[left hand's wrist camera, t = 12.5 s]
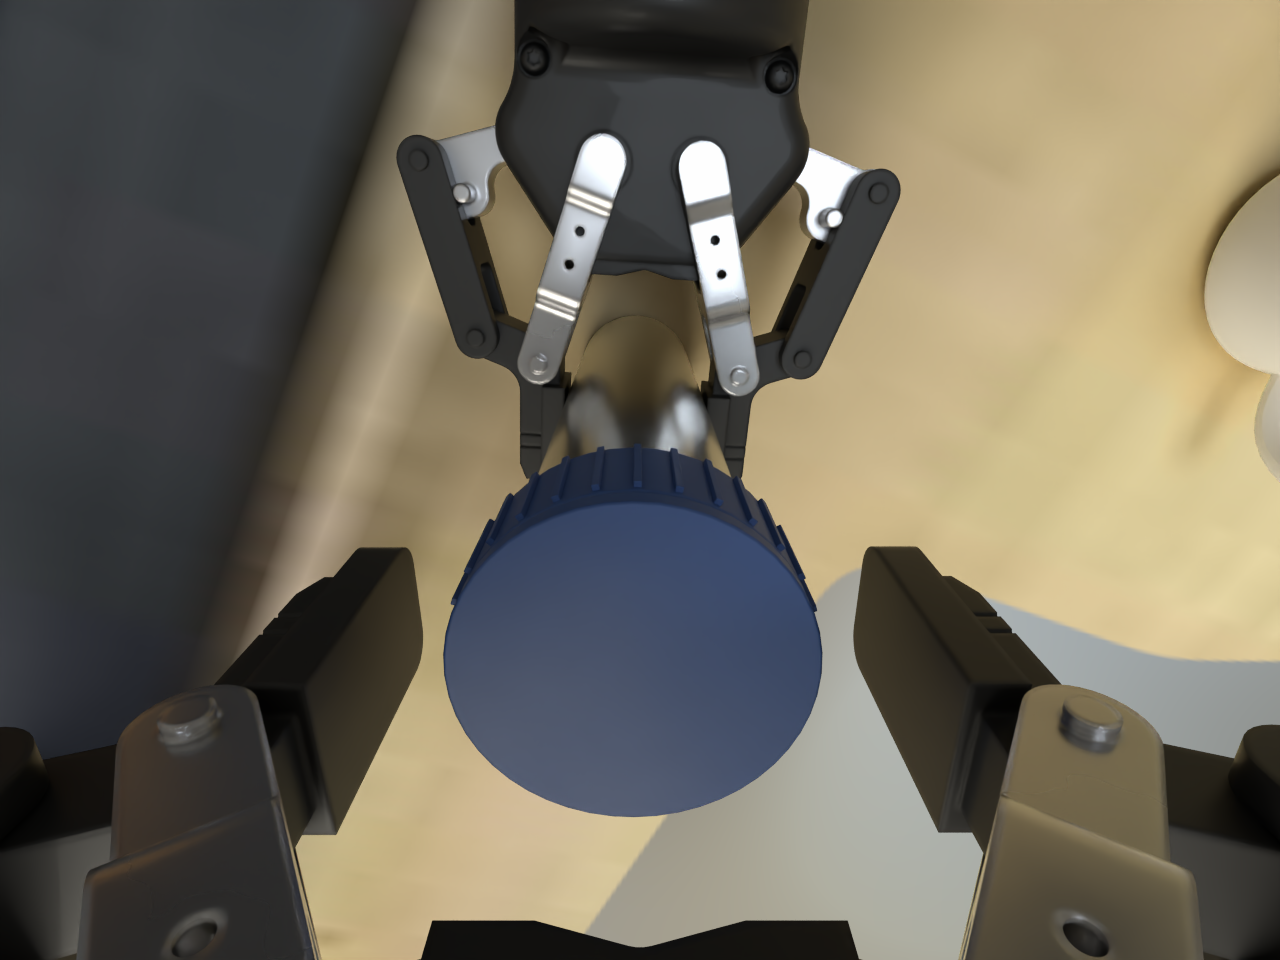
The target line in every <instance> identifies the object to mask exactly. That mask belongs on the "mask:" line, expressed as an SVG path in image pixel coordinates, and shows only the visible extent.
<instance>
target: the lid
mask: <svg viewBox="0 0 1280 960" xmlns="http://www.w3.org/2000/svg"><path fill="white" fill-rule="evenodd" d="M464 572H465V573H464V575H463V577H462V579H461V581H460V583H459V585H458V587H457V589H456V591H455V594H454V596H453V598H452V601H451V605H455V606H454V608H453V610H452V612H451V616H450V619H449V623H448V627H447V630H446V635H445V644H444V653H443V658H444V676H445V681H446V685H447V690H448V695H449V698H450V701H451V704H452V706H453V709H454V712H455V714H456V717H457V718H458V720H459V722H460V724H461V726H462V728H463V729H464V731H465V733H466V735H467V736H468V737H469V739H470V740H471V741H472V743H473V744H474V745H475V747H476V748H477V749H478V751H479V752H480V753H481V754H482V755H483V756H484V757H485V758H486V759H487V760H488V761H489V762H490V763H491V764H492V765H493V766H494V767H495V768H496V769H498V770H499V771H500V772H501V773H503V774H504V775H505V776H506V777H508V778H509V779H510V780H512V781H513V782H515V783H517V784H518V785H520V786H521V787H523V788H524V789H526V790H528V791H530V792H532V793H534V794H536V795H538V796H540V797H542V798H544V799H546V800H549V801H551V802H554V803H557V804H560V805H562V806H565V807H568V808H572V809H576V810H580V811H584V812H588V813H594V814H601V815H608V816H622V817H644V816H658V815H665V814H671V813H678V812H682V811H685V810H690V809H693V808H697V807H701V806H703V805H706V804H709V803H711V802H714V801H717V800H719V799H722V798H724V797H726V796H728V795H730V794H732V793H734V792H736V791H738V790H740V789H741V788H743V787H744V786H746V785H747V784H749V783H751V782H752V781H754V780H755V779H757V778H758V777H759V776H761V775H762V774H763V773H764V772H765V771H767V770H768V769H769V768H770V767H772V766H773V765H774V764H775V763H776V762H777V761H778V760H779V759H780V758H781V757H782V756H783V754H784V753H785V752H786V751H787V750H788V749H789V748H790V746H791V745H792V744H793V742H794V741H795V740H796V738H797V737H798V735H799V734H800V733H801V731H802V729H803V727H804V725H805V723H806V721H807V720H808V718H809V716H810V714H811V711H812V708H813V705H814V703H815V700H816V697H817V694H818V689H819V684H820V679H821V674H822V646H821V637H820V631H819V627H818V624H817V620H816V617H815V613H814V612H815V611H817V608H816V604H815V602H814V600H813V598H812V596H811V594H810V591H809V589H808V587H807V585H806V583H805V581H804V579H806V578H805V575H804V573H803V571H802V569H801V567H800V565H799V563H798V560H797V558H796V556H795V554H794V552H793V550H792V548H791V546H790V543H789V541H788V539H787V537H786V535H785V533H784V531H783V529H782V527H781V525H779V526H777V527H776V525H775V523H774V520H773V518H772V516H771V514H770V511H769V509H768V507H767V505H766V503H765V501H764V500H763V499H762V498H761V499H760V500H759V501H757V500H756V499H755V498H754V496H753V495H752V494H751V493H750V492H749V491H747V490H746V489H745V487H744V485H743V482H742V480H741V479H740V478H739V477H738V476H736V477H735V478H734V479H733V478H731V477H730V476H728V475H727V474H725V473H723V472H722V471H720V470H719V469H717V468H715V467H713V464H712V461H710V460H708V459H705V460H704V462H702V461H700V460H698V459H695V458H692V457H689V456H685V455H682V454H679V453H678V449H675V448H671V449H670V451H665V450H659V449H651V448H641V444H634V447H632V448H616V449H607V450H605V448H604V446H601V447H597V452H592V453H588V454H584V455H581V456H578V457H575V458H572V459H570V457H569V456H566V457H563V458H562V461H561V463H560V464H558V465H556V466H554V467H552V468H550V469H548V470H547V471H545V472H543V473H542V474H540V475H539V473H538V472H535V473H534V474H532V475H531V478H530V480H529V483H528V484H526V485H525V486H524V487H523V488H522V489H521V490H520V491H518V492H517V493H516V494H515V495H514V496H513V495H512V494H511V493H510V494H509V495H508V496H507V497H506V498H505V501H504V503H503V505H502V507H501V509H500V511H499V514H498V516H497V518H496V520H495V521H493V520H491V519H489V521H488V523H487V524H486V527H485V529H484V531H483V533H482V535H481V537H480V539H479V541H478V543H477V545H476V547H475V549H474V551H473V553H472V555H471V557H470V560H469V562H468V564H467V566H466V568H465V570H464Z"/></svg>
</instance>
